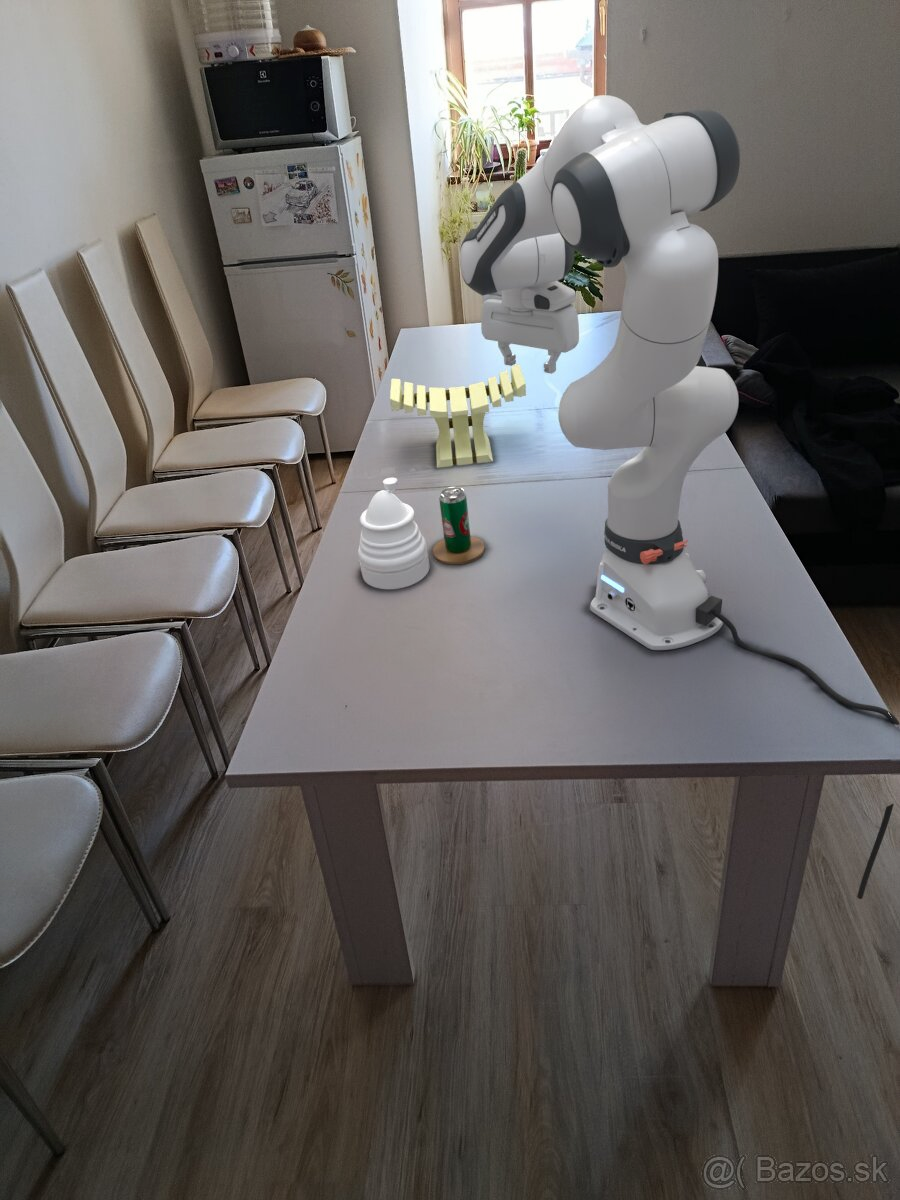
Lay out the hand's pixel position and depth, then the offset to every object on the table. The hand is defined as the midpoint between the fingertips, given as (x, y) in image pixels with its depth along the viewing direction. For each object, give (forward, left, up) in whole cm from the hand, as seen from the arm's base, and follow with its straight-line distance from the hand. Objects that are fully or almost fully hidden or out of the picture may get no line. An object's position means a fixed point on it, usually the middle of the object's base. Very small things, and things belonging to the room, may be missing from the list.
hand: (529, 368), depth 149 cm
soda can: (-8, +21, -29) cm, 36 cm away
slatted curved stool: (+34, +2, -29) cm, 45 cm away
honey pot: (-8, +34, -29) cm, 46 cm away
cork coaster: (-8, +21, -29) cm, 37 cm away
